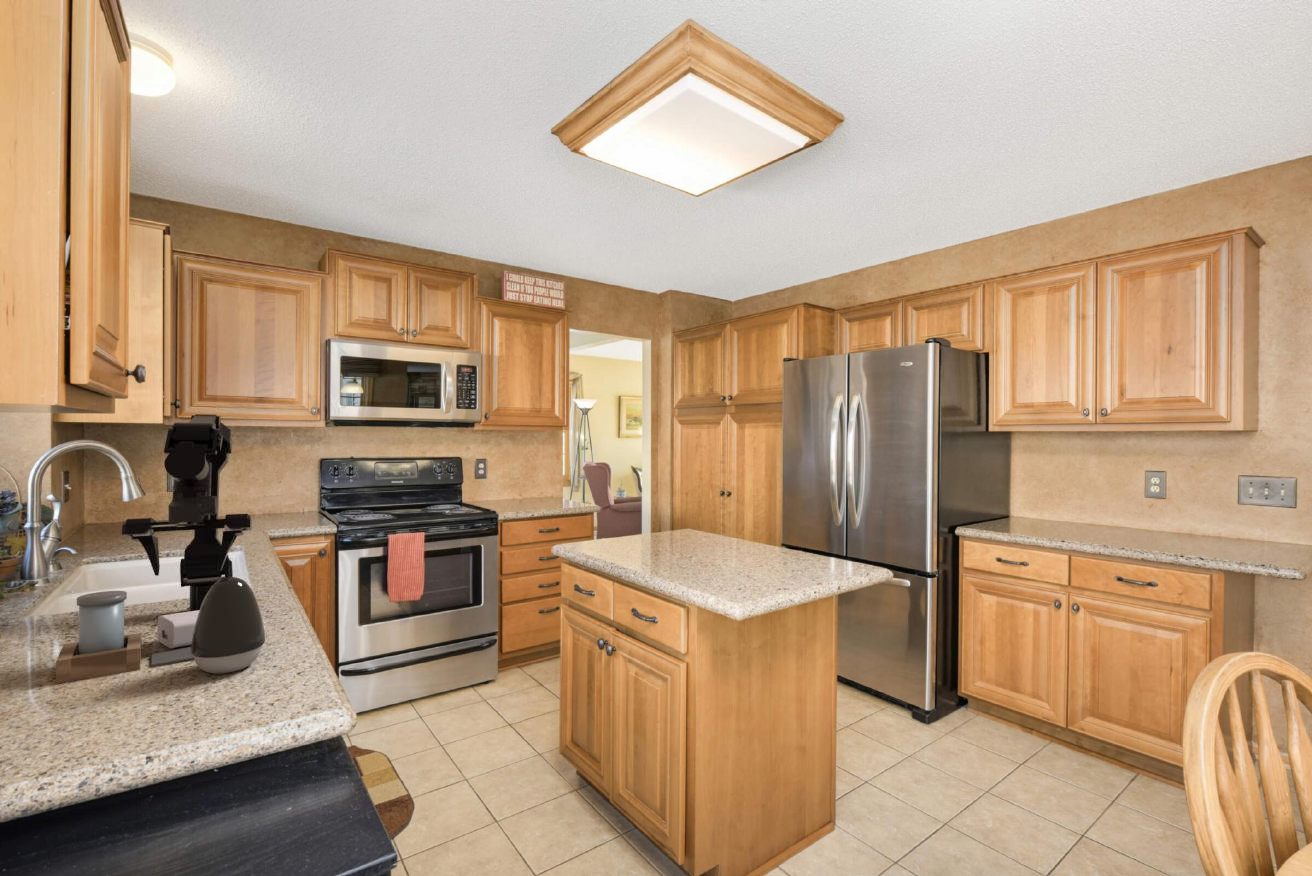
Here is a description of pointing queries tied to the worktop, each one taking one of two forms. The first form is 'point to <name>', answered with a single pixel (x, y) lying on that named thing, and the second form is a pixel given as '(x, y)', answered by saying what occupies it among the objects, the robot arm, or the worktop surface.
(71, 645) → the block
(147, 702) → the worktop surface
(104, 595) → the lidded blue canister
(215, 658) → the dark egg-shaped device
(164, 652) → the rubber mat
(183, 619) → the charger
